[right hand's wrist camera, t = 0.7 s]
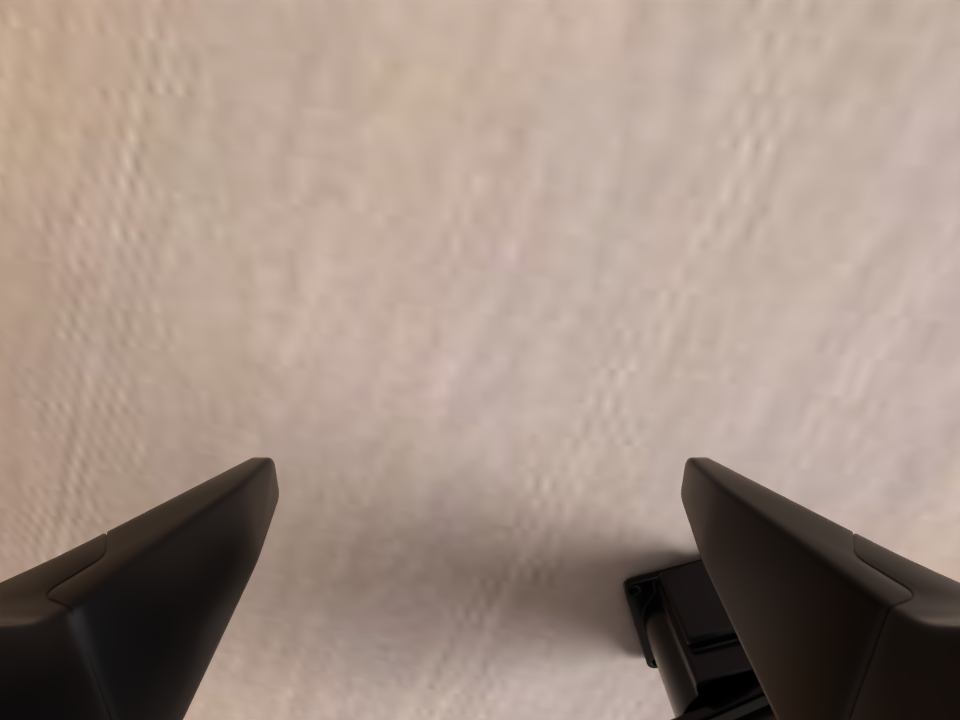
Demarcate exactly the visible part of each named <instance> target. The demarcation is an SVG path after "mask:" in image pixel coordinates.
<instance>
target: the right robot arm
mask: <svg viewBox="0 0 960 720" xmlns="http://www.w3.org/2000/svg"><path fill="white" fill-rule="evenodd" d="M278 497H279V489H278V483H277V476H276V470H275V464H274V462H273V460H272V459H271V458H251V459H249V460H247V461H245V462H243V463H241V464H239V465H237V466H235V467H233V468H231V469H229V470H228V471H226V472H224V473H222V474H220V475H218V476H216V477H214V478H212V479H210V480H208V481H206V482H204V483H202V484H200V485H198V486H196V487H194V488H192V489H190V490H188V491H186V492H184V493H183V494H181V495H179V496H177V497H175V498H173V499H171V500H169V501H167V502H165V503H163V504H161V505H159V506H157V507H155V508H153V509H151V510H149V511H147V512H145V513H143V514H141V515H139V516H137V517H136V518H134V519H132V520H130V521H128V522H126V523H124V524H122V525H120V526H118V527H116V528H114V529H112V530H110V531H108V532H107V535H106V534H102V535H100V536H98V537H96V538H94V539H92V540H90V541H88V542H86V543H84V544H82V545H80V546H78V547H76V548H74V549H72V550H70V551H68V552H66V553H64V554H62V555H60V556H58V557H56V558H54V559H52V560H49V561H47V562H45V563H43V564H41V565H39V566H36V567H34V568H32V569H30V570H28V571H26V572H23V573H21V574H19V575H17V576H14V577H12V578H10V579H8V580H6V581H3V582H1V583H0V720H183V718H184V716H185V714H186V712H187V710H188V708H189V706H190V704H191V701H192V699H193V697H194V695H195V693H196V691H197V689H198V687H199V685H200V682H201V680H202V678H203V676H204V674H205V672H206V670H207V668H208V665H209V663H210V661H211V659H212V657H213V655H214V653H215V651H216V648H217V646H218V644H219V642H220V640H221V638H222V636H223V634H224V631H225V629H226V627H227V625H228V623H229V621H230V619H231V617H232V614H233V612H234V610H235V608H236V606H237V604H238V602H239V600H240V598H241V595H242V593H243V591H244V589H245V587H246V585H247V583H248V581H249V578H250V576H251V574H252V572H253V570H254V568H255V565H256V563H257V561H258V558H259V555H260V552H261V550H262V547H263V544H264V541H265V538H266V535H267V532H268V529H269V526H270V523H271V520H272V517H273V514H274V511H275V508H276V505H277V502H278ZM681 497H682V502H683V505H684V508H685V511H686V514H687V517H688V520H689V523H690V526H691V529H692V532H693V535H694V538H695V541H696V544H697V547H698V550H699V553H700V555H701V558H702V559H701V560H697V561H693V562H690V563H686V564H682V565H678V566H675V567H671V568H667V569H663V570H659V571H656V572H652V573H648V574H644V575H640V576H637V577H633V578H630V579H627V580H626V581H625V582H624V584H623V588H624V592H625V595H626V598H627V601H628V605H629V608H630V611H631V614H632V617H633V621H634V624H635V627H636V630H637V633H638V637H639V640H640V643H641V646H642V650H643V653H644V656H645V659H646V662H647V664H648V666H649V667H651V668H658V669H659V672H660V675H661V678H662V681H663V684H664V686H665V689H666V692H667V695H668V698H669V701H670V703H671V706H672V709H673V712H674V715H675V717H676V718H674V719H672V720H960V583H959V582H957V581H954V580H952V579H950V578H948V577H946V576H943V575H941V574H939V573H937V572H934V571H932V570H930V569H928V568H926V567H924V566H921V565H919V564H917V563H915V562H913V561H911V560H908V559H906V558H904V557H902V556H900V555H898V554H896V553H894V552H892V551H890V550H888V549H886V548H884V547H882V546H880V545H878V544H876V543H874V542H872V541H870V540H868V539H866V538H864V537H862V536H860V535H858V534H854V535H853V532H852V531H850V530H848V529H846V528H844V527H842V526H840V525H838V524H836V523H834V522H832V521H830V520H828V519H826V518H824V517H823V516H821V515H819V514H817V513H815V512H813V511H811V510H809V509H807V508H805V507H803V506H801V505H799V504H797V503H795V502H793V501H791V500H789V499H787V498H785V497H783V496H781V495H779V494H777V493H776V492H774V491H772V490H770V489H768V488H766V487H764V486H762V485H760V484H758V483H756V482H754V481H752V480H750V479H748V478H746V477H744V476H742V475H740V474H738V473H736V472H734V471H732V470H730V469H729V468H727V467H725V466H723V465H721V464H719V463H717V462H715V461H713V460H711V459H709V458H689V459H688V460H687V462H686V464H685V470H684V476H683V483H682V489H681ZM633 587H636V588H634V589H631V588H633Z"/></svg>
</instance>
